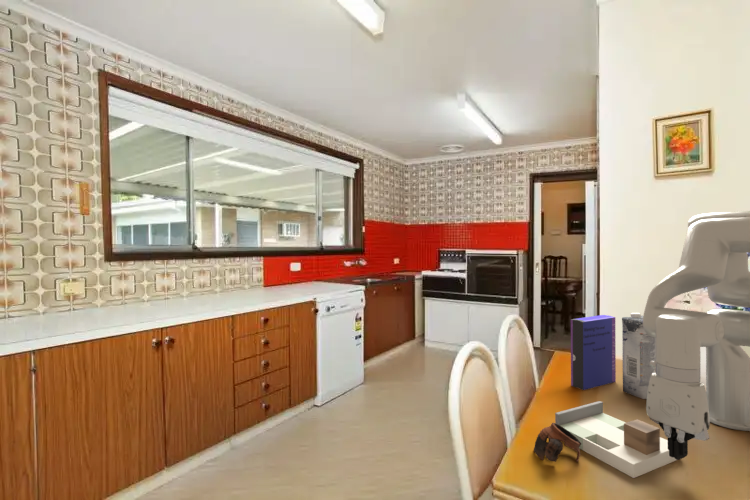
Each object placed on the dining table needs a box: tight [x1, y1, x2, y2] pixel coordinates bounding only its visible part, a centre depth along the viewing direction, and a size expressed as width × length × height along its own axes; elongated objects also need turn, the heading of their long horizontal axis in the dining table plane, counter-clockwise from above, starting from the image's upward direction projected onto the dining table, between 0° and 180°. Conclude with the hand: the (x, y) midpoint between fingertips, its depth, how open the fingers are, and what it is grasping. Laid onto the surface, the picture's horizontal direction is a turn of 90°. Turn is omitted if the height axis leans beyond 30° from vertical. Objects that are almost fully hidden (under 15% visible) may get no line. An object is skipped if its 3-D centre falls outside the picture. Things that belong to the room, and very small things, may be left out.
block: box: [624, 419, 661, 455], centre depth 87 cm, size 5×5×5 cm
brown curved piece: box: [533, 422, 581, 463], centre depth 88 cm, size 12×10×8 cm
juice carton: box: [621, 312, 656, 400], centre depth 125 cm, size 9×10×27 cm
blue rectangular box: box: [570, 314, 617, 391], centre depth 134 cm, size 17×5×24 cm, turn 115°
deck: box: [554, 400, 678, 479], centre depth 93 cm, size 20×18×6 cm
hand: (677, 456), depth 81 cm, fingers closed
